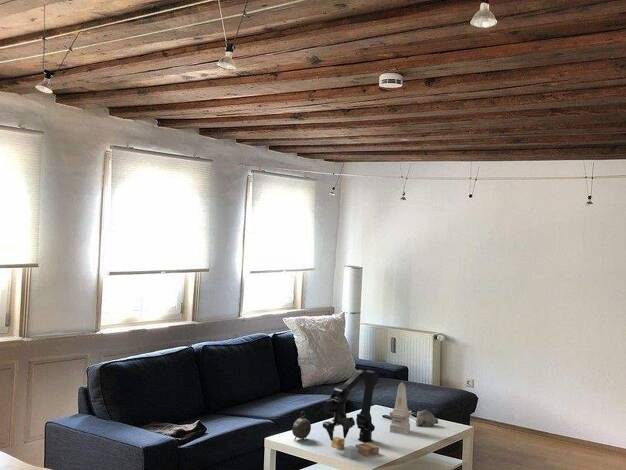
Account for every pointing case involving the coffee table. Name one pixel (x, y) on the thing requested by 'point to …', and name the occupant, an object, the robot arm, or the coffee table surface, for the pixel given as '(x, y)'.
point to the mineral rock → (425, 418)
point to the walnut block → (367, 449)
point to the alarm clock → (301, 428)
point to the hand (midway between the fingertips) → (338, 439)
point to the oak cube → (337, 442)
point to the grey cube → (351, 452)
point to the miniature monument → (400, 413)
